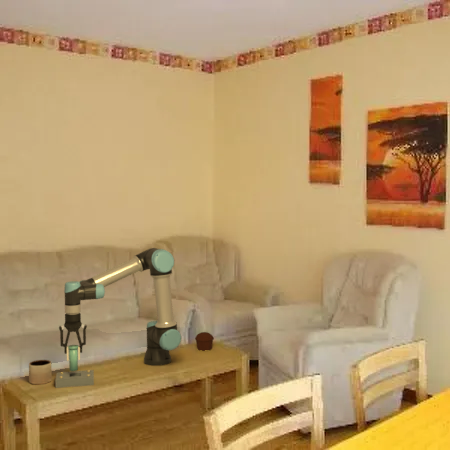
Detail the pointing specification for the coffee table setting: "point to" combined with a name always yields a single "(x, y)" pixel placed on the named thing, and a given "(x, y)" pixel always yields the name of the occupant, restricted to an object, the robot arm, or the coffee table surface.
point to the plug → (73, 357)
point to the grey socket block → (74, 378)
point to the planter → (40, 372)
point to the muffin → (204, 341)
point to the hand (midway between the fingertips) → (73, 359)
